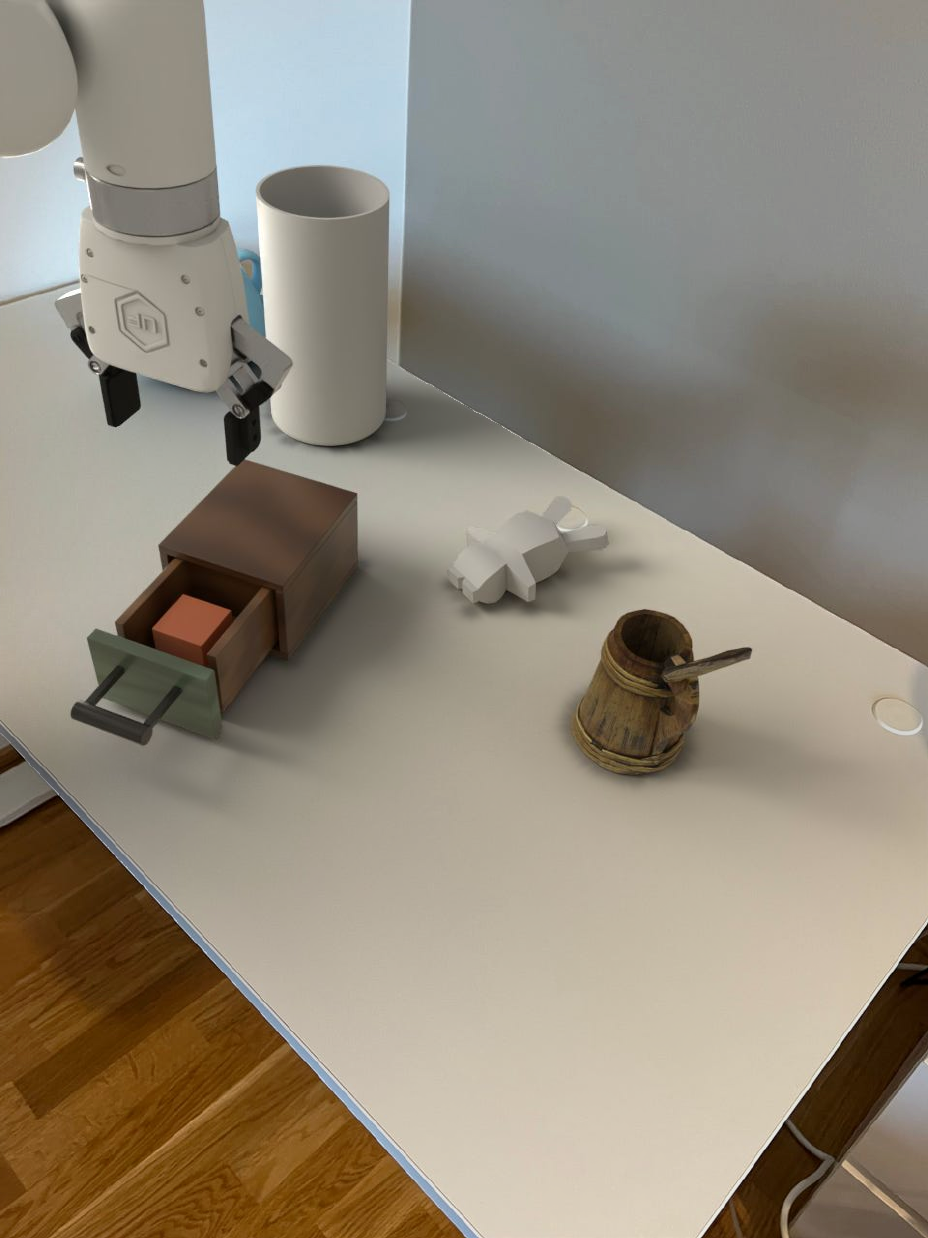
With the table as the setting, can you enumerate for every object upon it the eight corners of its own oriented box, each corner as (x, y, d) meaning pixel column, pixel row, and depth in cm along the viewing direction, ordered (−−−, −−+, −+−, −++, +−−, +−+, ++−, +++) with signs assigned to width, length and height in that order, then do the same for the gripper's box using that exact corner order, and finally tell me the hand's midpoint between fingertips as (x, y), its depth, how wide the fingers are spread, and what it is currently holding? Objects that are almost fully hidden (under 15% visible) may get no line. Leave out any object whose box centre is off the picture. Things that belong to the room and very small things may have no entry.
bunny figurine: (428, 538, 98) (555, 471, 103) (431, 577, 101) (553, 511, 107) (491, 597, 92) (621, 524, 98) (492, 636, 96) (617, 563, 102)
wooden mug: (626, 834, 80) (674, 670, 68) (554, 705, 89) (585, 539, 77) (728, 805, 83) (793, 642, 70) (649, 682, 92) (694, 518, 79)
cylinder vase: (249, 409, 118) (229, 182, 101) (340, 374, 124) (336, 155, 107) (316, 463, 112) (307, 230, 94) (408, 423, 118) (416, 199, 101)
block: (158, 668, 87) (151, 628, 84) (189, 632, 90) (183, 593, 87) (207, 685, 86) (201, 646, 83) (236, 649, 89) (231, 610, 86)
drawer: (175, 792, 79) (163, 733, 75) (57, 747, 82) (38, 686, 77) (291, 637, 92) (288, 578, 87) (186, 601, 94) (177, 542, 89)
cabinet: (288, 660, 91) (283, 586, 85) (170, 620, 94) (157, 544, 88) (358, 566, 100) (357, 492, 94) (249, 531, 103) (242, 458, 97)
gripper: (-8, 184, 63) (46, 429, 75) (250, 253, 59) (264, 499, 71) (72, 145, 68) (111, 379, 80) (313, 206, 65) (317, 443, 76)
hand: (183, 435), depth 76 cm, fingers open, 9 cm apart
